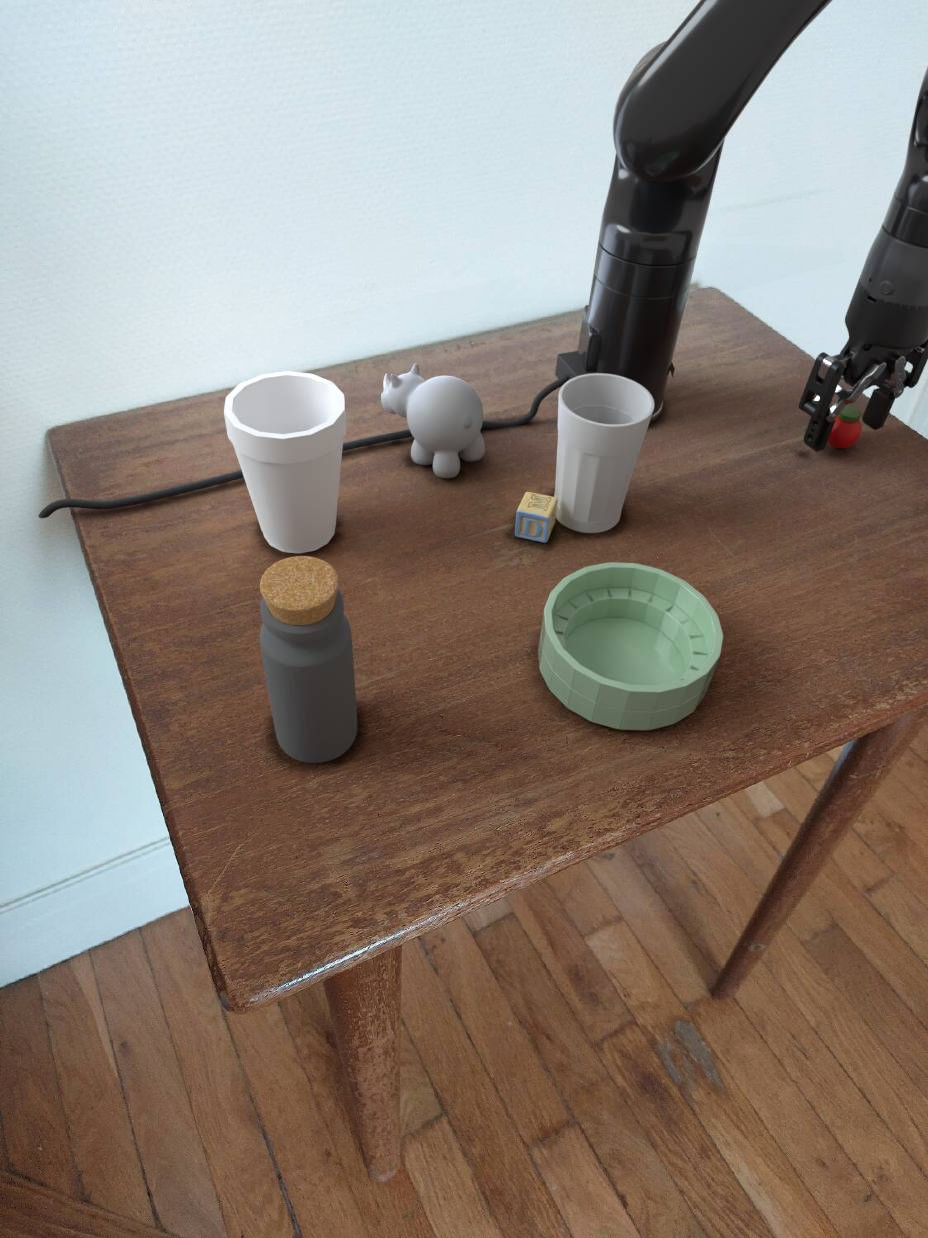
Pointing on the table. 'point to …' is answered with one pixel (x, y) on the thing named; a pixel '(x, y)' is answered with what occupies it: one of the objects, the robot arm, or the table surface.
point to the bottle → (308, 659)
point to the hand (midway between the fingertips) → (842, 435)
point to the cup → (598, 448)
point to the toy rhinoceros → (437, 418)
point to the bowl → (628, 645)
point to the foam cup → (290, 454)
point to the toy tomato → (846, 428)
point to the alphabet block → (536, 517)
